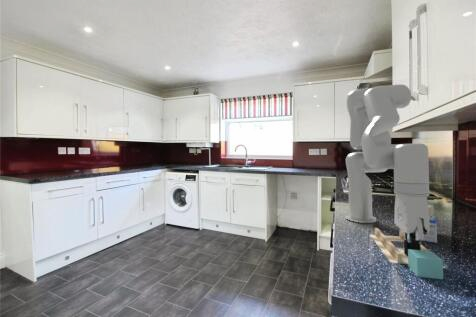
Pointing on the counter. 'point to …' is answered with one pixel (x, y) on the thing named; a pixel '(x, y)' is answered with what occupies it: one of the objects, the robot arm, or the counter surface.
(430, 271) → the block
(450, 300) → the counter surface
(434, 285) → the counter surface
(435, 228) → the medicine box
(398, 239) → the channel
